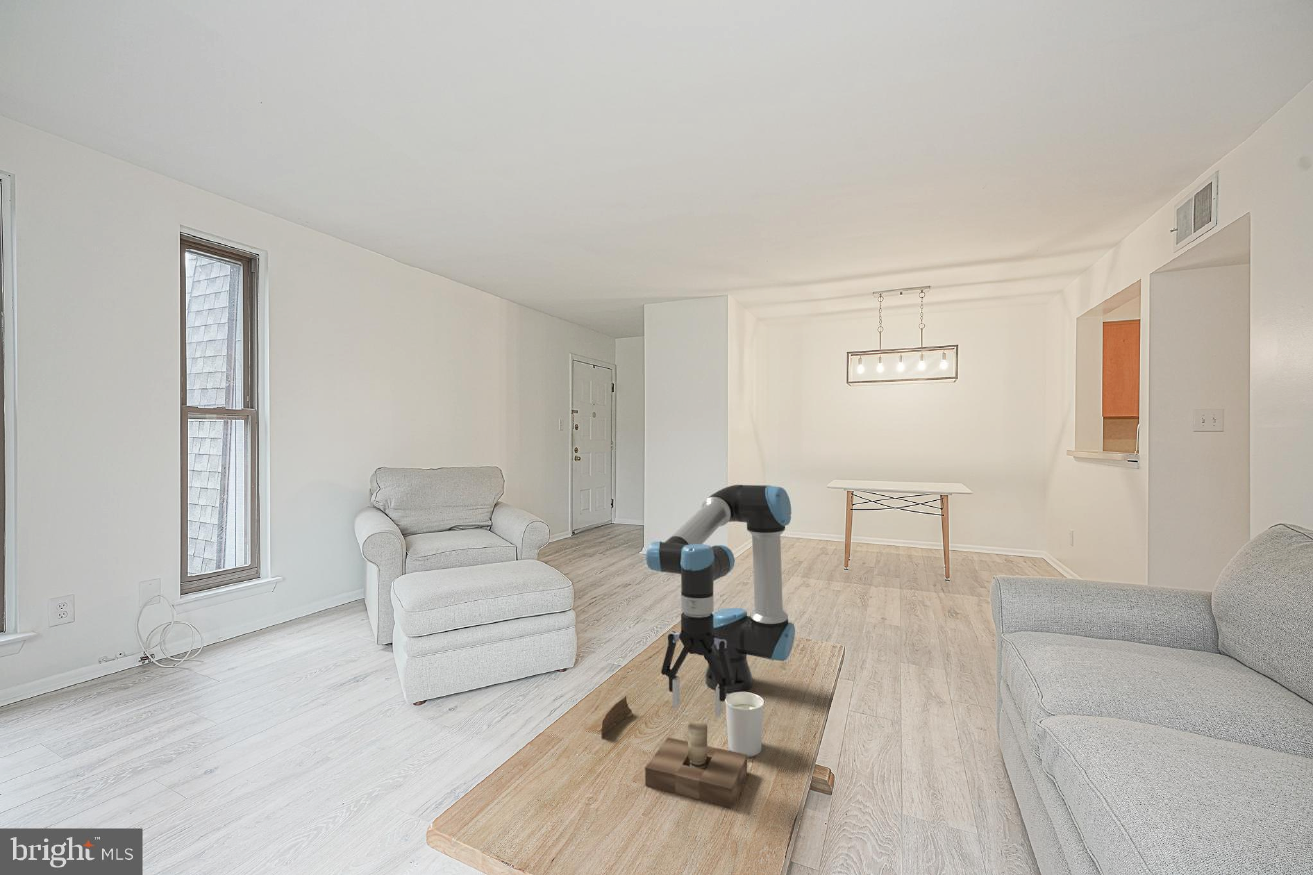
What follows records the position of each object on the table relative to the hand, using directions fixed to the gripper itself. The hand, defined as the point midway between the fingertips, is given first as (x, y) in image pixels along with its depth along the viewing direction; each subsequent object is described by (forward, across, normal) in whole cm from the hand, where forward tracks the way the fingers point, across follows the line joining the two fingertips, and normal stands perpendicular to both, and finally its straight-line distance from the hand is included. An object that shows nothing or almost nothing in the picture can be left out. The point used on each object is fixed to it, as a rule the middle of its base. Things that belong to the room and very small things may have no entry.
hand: (697, 709), depth 127 cm
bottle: (+16, 0, 0) cm, 16 cm away
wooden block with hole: (+16, 0, 0) cm, 16 cm away
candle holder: (+16, +7, +17) cm, 24 cm away
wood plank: (+16, -28, +15) cm, 36 cm away
